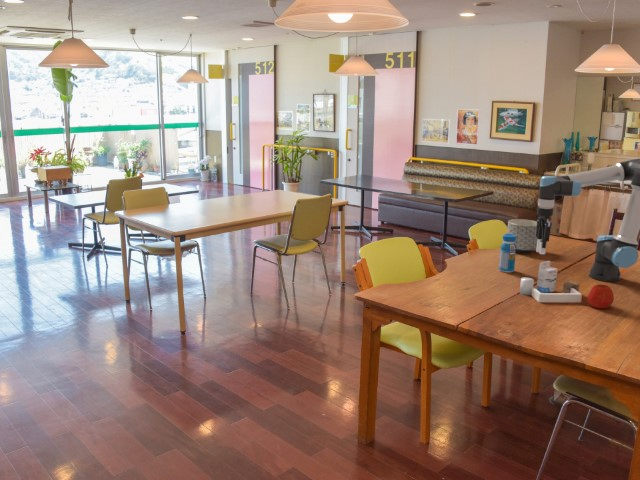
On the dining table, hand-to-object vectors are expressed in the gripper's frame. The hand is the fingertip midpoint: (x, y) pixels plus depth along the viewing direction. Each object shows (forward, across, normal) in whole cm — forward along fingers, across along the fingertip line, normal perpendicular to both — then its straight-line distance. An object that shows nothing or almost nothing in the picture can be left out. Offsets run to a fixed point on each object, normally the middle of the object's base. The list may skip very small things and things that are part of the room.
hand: (540, 252), depth 307 cm
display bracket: (+17, +22, 0) cm, 28 cm away
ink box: (+17, +11, 0) cm, 20 cm away
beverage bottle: (+17, -24, -8) cm, 30 cm away
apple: (+17, +33, +16) cm, 40 cm away
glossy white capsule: (+17, +14, -11) cm, 24 cm away
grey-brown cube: (+17, +14, +11) cm, 24 cm away
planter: (+17, -67, +16) cm, 71 cm away
